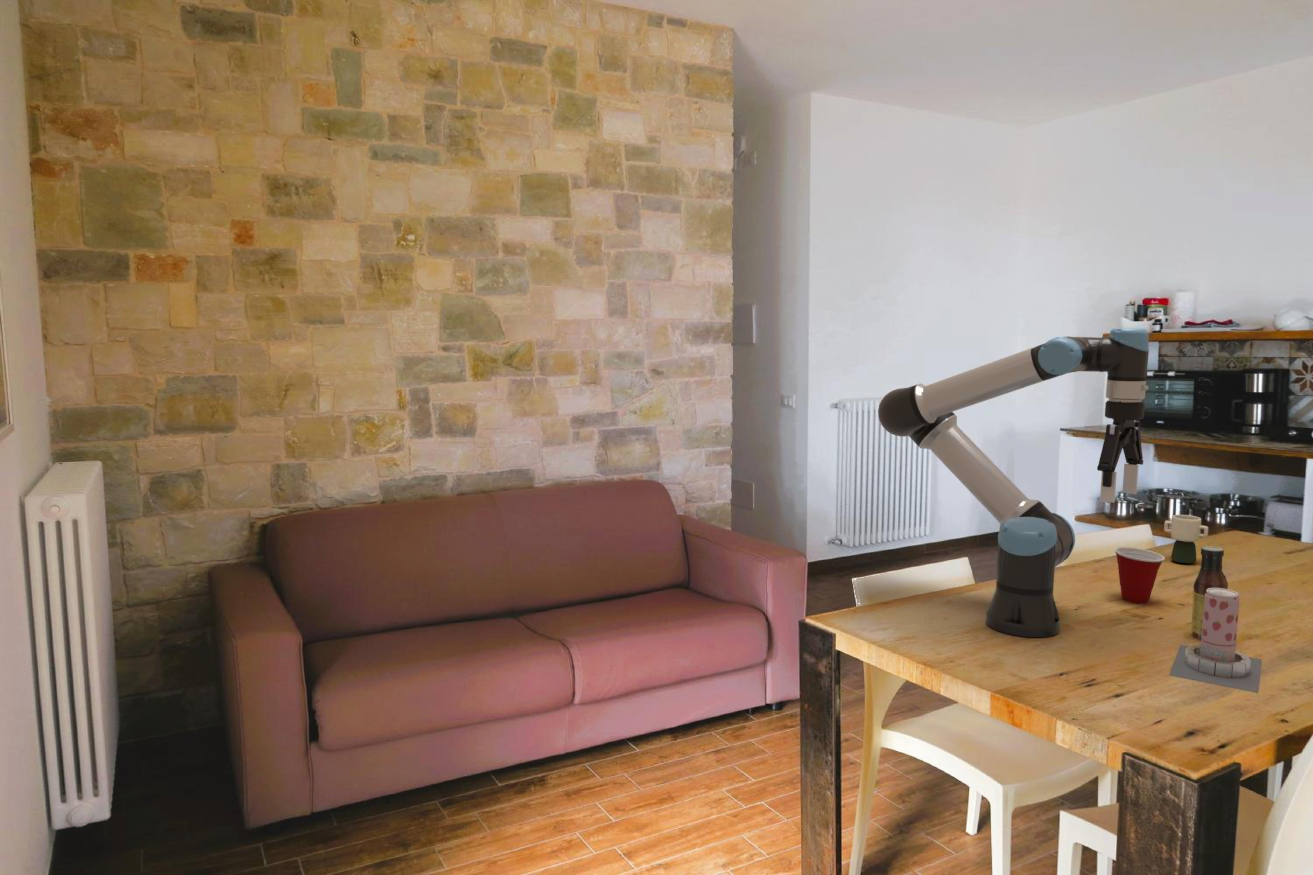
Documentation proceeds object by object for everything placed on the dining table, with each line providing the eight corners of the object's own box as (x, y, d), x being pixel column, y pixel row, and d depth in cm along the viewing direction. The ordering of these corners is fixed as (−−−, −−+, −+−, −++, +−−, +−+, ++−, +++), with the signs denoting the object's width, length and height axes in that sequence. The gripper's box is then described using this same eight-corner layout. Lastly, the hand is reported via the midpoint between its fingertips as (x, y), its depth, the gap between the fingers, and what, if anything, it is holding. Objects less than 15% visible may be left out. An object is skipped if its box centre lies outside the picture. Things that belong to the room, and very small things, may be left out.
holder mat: (1257, 695, 161) (1258, 692, 161) (1168, 677, 169) (1169, 674, 169) (1261, 661, 177) (1261, 659, 177) (1180, 646, 185) (1180, 644, 185)
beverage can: (1195, 666, 173) (1201, 591, 171) (1203, 659, 177) (1209, 585, 175) (1229, 674, 169) (1235, 597, 167) (1237, 666, 173) (1243, 591, 171)
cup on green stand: (1209, 563, 249) (1212, 518, 248) (1201, 568, 245) (1205, 522, 243) (1166, 556, 257) (1169, 512, 256) (1157, 561, 252) (1161, 515, 251)
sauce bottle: (1212, 634, 193) (1220, 544, 190) (1232, 644, 186) (1240, 551, 184) (1182, 634, 192) (1189, 544, 190) (1201, 644, 186) (1208, 551, 184)
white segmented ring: (1213, 679, 167) (1214, 666, 167) (1172, 658, 177) (1173, 646, 177) (1262, 675, 169) (1263, 662, 168) (1219, 655, 179) (1220, 643, 178)
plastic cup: (1157, 610, 209) (1161, 560, 207) (1107, 601, 215) (1110, 552, 214) (1165, 598, 217) (1168, 550, 216) (1115, 590, 224) (1119, 544, 222)
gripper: (1123, 405, 181) (1116, 507, 184) (1162, 398, 199) (1156, 492, 201) (1085, 402, 187) (1078, 502, 189) (1126, 396, 204) (1120, 487, 207)
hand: (1118, 497), depth 195 cm, fingers open, 13 cm apart
